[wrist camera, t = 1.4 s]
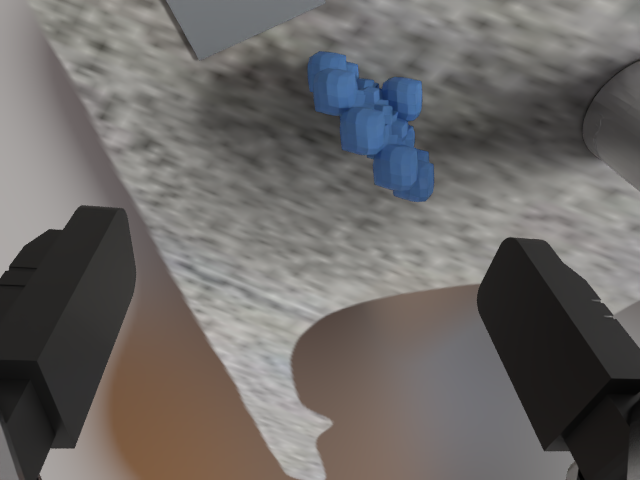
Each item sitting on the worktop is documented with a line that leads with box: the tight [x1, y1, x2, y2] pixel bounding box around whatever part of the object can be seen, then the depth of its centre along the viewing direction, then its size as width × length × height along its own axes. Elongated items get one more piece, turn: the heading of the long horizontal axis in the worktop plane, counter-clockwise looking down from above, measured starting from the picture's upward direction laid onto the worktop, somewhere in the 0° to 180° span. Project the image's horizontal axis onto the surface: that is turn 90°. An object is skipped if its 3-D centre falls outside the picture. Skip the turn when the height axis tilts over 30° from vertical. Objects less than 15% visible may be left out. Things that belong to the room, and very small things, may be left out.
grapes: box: [307, 51, 434, 202], centre depth 30 cm, size 12×7×12 cm, turn 44°
